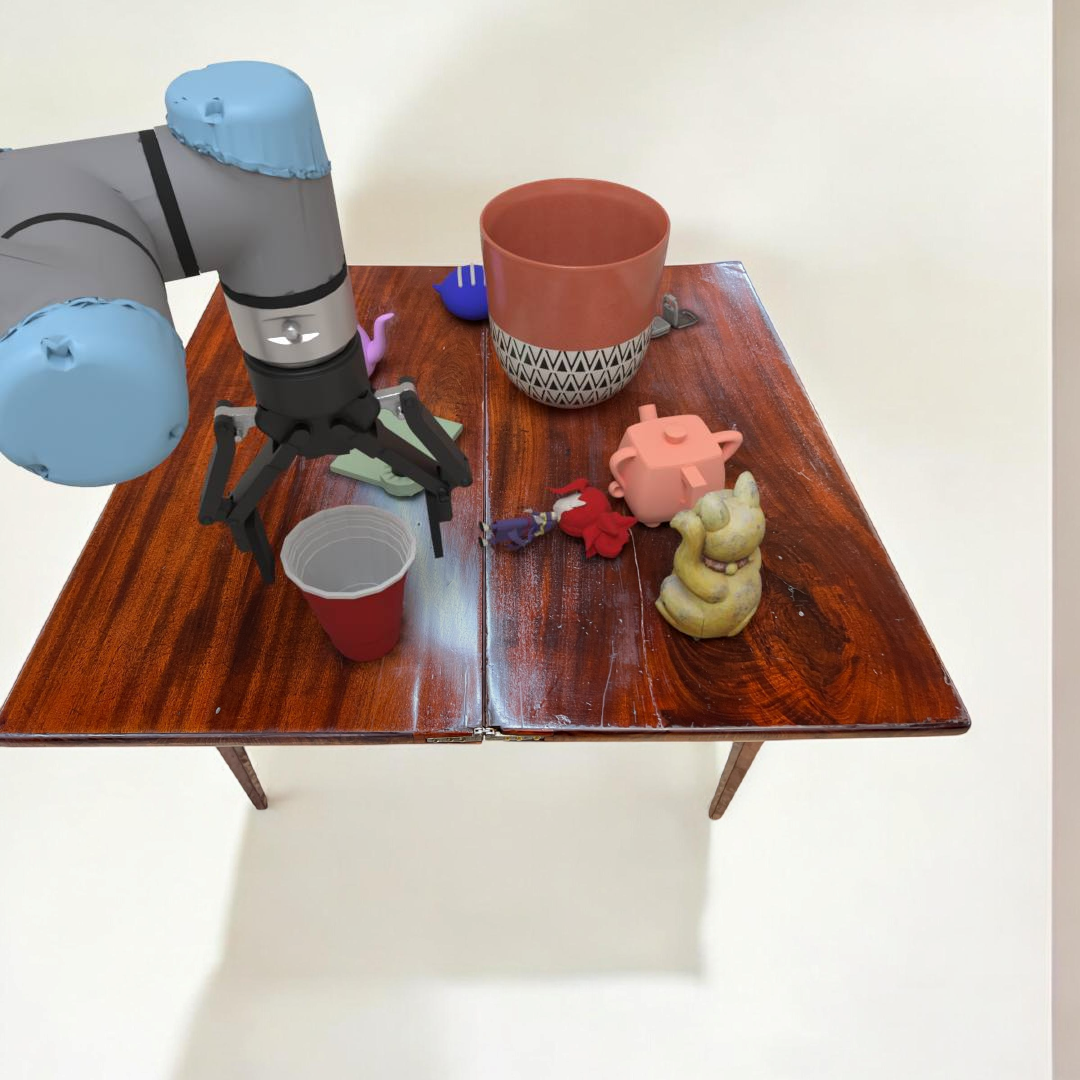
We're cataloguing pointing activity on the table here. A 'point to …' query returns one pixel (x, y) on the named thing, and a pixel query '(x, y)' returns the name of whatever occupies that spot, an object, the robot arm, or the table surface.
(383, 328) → the teapot
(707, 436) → the teapot
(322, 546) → the plastic cup
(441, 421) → the scale
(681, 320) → the strap clip
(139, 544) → the table surface
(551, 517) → the figurine
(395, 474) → the tare button
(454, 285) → the decorative object
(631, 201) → the planter
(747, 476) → the decorative figurine
